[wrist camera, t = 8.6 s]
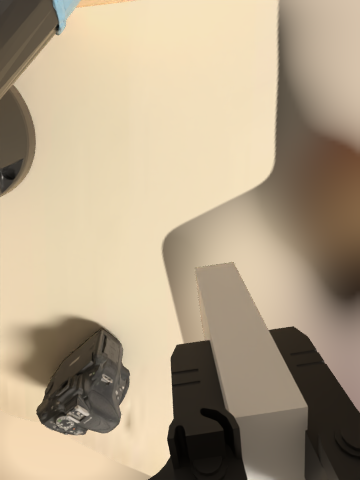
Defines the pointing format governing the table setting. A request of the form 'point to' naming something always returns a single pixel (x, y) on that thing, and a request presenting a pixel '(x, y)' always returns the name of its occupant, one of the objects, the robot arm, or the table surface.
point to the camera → (87, 388)
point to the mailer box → (98, 2)
